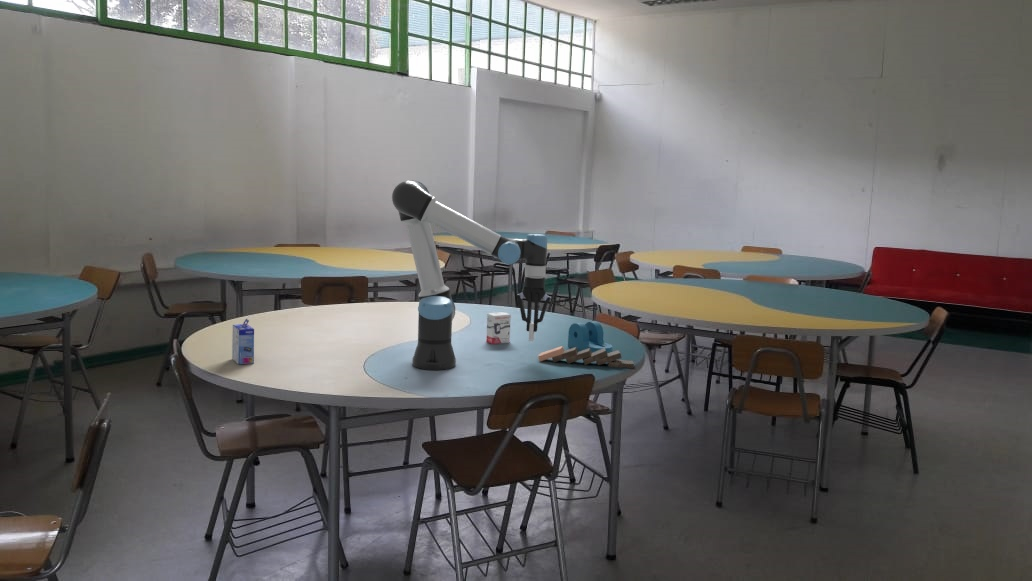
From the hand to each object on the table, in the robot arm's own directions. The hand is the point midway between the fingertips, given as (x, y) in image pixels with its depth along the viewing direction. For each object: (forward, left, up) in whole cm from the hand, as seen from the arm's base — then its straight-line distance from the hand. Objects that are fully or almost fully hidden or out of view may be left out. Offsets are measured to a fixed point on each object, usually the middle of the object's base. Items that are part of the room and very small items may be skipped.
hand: (531, 340), depth 277 cm
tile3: (+8, -11, -6) cm, 15 cm away
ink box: (+10, +28, -7) cm, 30 cm away
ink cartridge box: (-83, +58, -7) cm, 101 cm away
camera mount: (+30, -5, -8) cm, 32 cm away
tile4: (+11, -16, -6) cm, 21 cm away
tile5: (+14, -20, -6) cm, 25 cm away
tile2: (+5, -7, -6) cm, 11 cm away
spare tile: (+2, -3, -6) cm, 7 cm away
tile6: (+17, -23, -7) cm, 29 cm away
